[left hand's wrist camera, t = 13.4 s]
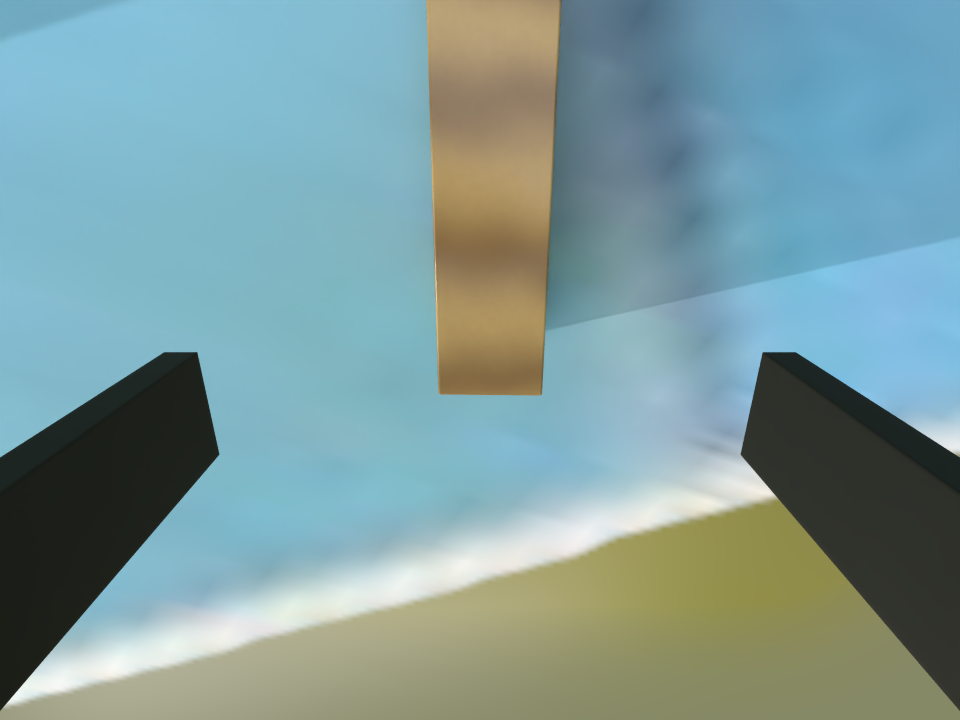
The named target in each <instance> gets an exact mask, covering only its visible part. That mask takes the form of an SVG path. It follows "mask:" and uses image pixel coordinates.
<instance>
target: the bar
mask: <svg viewBox="0 0 960 720" xmlns="http://www.w3.org/2000/svg"><path fill="white" fill-rule="evenodd" d="M561 2H562V0H427V31H428V64H429V97H430V130H431V163H432V196H433V229H434V262H435V295H436V328H437V361H438V393H439V394H453V395H541V394H542V384H543V364H544V344H545V324H546V304H547V284H548V263H549V243H550V223H551V203H552V183H553V163H554V143H555V123H556V103H557V82H558V62H559V42H560V22H561Z"/></svg>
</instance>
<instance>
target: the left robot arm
mask: <svg viewBox="0 0 960 720" xmlns="http://www.w3.org/2000/svg"><path fill="white" fill-rule="evenodd" d="M218 456H219V451H218V446H217V441H216V437H215V432H214V428H213V423H212V418H211V414H210V409H209V404H208V400H207V395H206V391H205V386H204V381H203V377H202V372H201V367H200V363H199V358H198V354H197V352H164V353H162V354H161V355H159V356H158V357H156V358H155V359H153V360H152V361H150V362H148V363H147V364H145V365H144V366H142V367H141V368H139V369H138V370H136V371H134V372H133V373H131V374H130V375H128V376H127V377H125V378H124V379H122V380H120V381H119V382H117V383H116V384H114V385H113V386H111V387H109V388H108V389H106V390H105V391H103V392H102V393H100V394H99V395H97V396H95V397H94V398H92V399H91V400H89V401H88V402H86V403H85V404H83V405H81V406H80V407H78V408H77V409H75V410H74V411H72V412H70V413H69V414H67V415H66V416H64V417H63V418H61V419H60V420H58V421H56V422H55V423H53V424H52V425H50V426H49V427H47V428H46V429H44V430H42V431H41V432H39V433H38V434H36V435H35V436H33V437H32V438H30V439H28V440H27V441H25V442H24V443H22V444H21V445H19V446H17V447H16V448H14V449H13V450H11V451H10V452H8V453H7V454H5V455H3V456H2V457H0V710H1V709H2V708H3V707H4V706H5V705H6V703H7V702H8V701H9V700H10V699H11V698H12V696H13V695H14V694H15V693H16V692H17V691H18V689H19V688H20V687H21V686H22V685H23V683H24V682H25V681H26V680H27V679H28V678H29V676H30V675H31V674H32V673H33V672H34V671H35V669H36V668H37V667H38V666H39V665H40V664H41V662H42V661H43V660H44V659H45V658H46V657H47V655H48V654H49V653H50V652H51V651H52V650H53V648H54V647H55V646H56V645H57V644H58V643H59V641H60V640H61V639H62V638H63V637H64V636H65V634H66V633H67V632H68V631H69V630H70V629H71V627H72V626H73V625H74V624H75V623H76V622H77V620H78V619H79V618H80V617H81V616H82V615H83V613H84V612H85V611H86V610H87V609H88V608H89V606H90V605H91V604H92V603H93V602H94V601H95V599H96V598H97V597H98V596H99V595H100V593H101V592H102V591H103V590H104V589H105V588H106V586H107V585H108V584H109V583H110V582H111V581H112V579H113V578H114V577H115V576H116V575H117V574H118V572H119V571H120V570H121V569H122V568H123V567H124V565H125V564H126V563H127V562H128V561H129V560H130V558H131V557H132V556H133V555H134V554H135V553H136V551H137V550H138V549H139V548H140V547H141V546H142V544H143V543H144V542H145V541H146V540H147V539H148V537H149V536H150V535H151V534H152V533H153V532H154V530H155V529H156V528H157V527H158V526H159V525H160V523H161V522H162V521H163V520H164V519H165V518H166V516H167V515H168V514H169V513H170V512H171V510H172V509H173V508H174V507H175V506H176V505H177V503H178V502H179V501H180V500H181V499H182V498H183V496H184V495H185V494H186V493H187V492H188V491H189V489H190V488H191V487H192V486H193V485H194V484H195V482H196V481H197V480H198V479H199V478H200V477H201V475H202V474H203V473H204V472H205V471H206V470H207V468H208V467H209V466H210V465H211V464H212V463H213V461H214V460H215V459H216V458H217V457H218ZM741 456H742V457H743V458H744V459H745V460H746V461H747V463H748V464H749V465H750V466H751V467H752V468H753V470H754V471H755V472H756V473H757V474H758V475H759V477H760V478H761V479H762V480H763V481H764V482H765V484H766V485H767V486H768V487H769V488H770V489H771V491H772V492H773V493H774V494H775V495H776V496H777V498H778V499H779V500H780V501H781V502H782V503H783V505H784V506H785V507H786V508H787V509H788V511H789V512H790V513H791V514H792V515H793V516H794V517H795V519H796V520H797V521H798V522H799V523H800V525H801V526H802V527H803V528H804V529H805V530H806V532H807V533H808V534H809V535H810V536H811V537H812V539H813V540H814V541H815V542H816V543H817V544H818V546H819V547H820V548H821V549H822V550H823V551H824V553H825V554H826V555H827V556H828V557H829V558H830V560H831V561H832V562H833V563H834V564H835V565H836V567H837V568H838V569H839V570H840V571H841V572H842V574H843V575H844V576H845V577H846V578H847V579H848V581H849V582H850V583H851V584H852V585H853V586H854V588H855V589H856V590H857V591H858V592H859V593H860V595H861V596H862V597H863V598H864V599H865V600H866V602H867V603H868V604H869V605H870V606H871V608H872V609H873V610H874V611H875V612H876V613H877V615H878V616H879V617H880V618H881V619H882V620H883V622H884V623H885V624H886V625H887V626H888V627H889V629H890V630H891V631H892V632H893V633H894V634H895V636H896V637H897V638H898V639H899V640H900V641H901V643H902V644H903V645H904V646H905V647H906V648H907V650H908V651H909V652H910V653H911V654H912V655H913V656H914V658H915V659H916V660H917V661H918V662H919V664H920V665H921V666H922V667H923V668H924V669H925V671H926V672H927V673H928V674H929V675H930V676H931V677H932V679H933V680H934V681H935V682H936V683H937V685H938V686H939V687H940V688H941V689H942V690H943V692H944V693H945V694H946V695H947V696H948V697H949V699H950V700H951V701H952V702H953V703H954V704H955V706H956V707H957V708H958V709H959V710H960V457H958V456H957V455H955V454H953V453H952V452H950V451H949V450H947V449H946V448H944V447H943V446H941V445H939V444H938V443H936V442H935V441H933V440H932V439H930V438H928V437H927V436H925V435H924V434H922V433H921V432H919V431H918V430H916V429H914V428H913V427H911V426H910V425H908V424H907V423H905V422H904V421H902V420H900V419H899V418H897V417H896V416H894V415H893V414H891V413H890V412H888V411H886V410H885V409H883V408H882V407H880V406H879V405H877V404H875V403H874V402H872V401H871V400H869V399H868V398H866V397H865V396H863V395H861V394H860V393H858V392H857V391H855V390H854V389H852V388H851V387H849V386H847V385H846V384H844V383H843V382H841V381H840V380H838V379H836V378H835V377H833V376H832V375H830V374H829V373H827V372H826V371H824V370H822V369H821V368H819V367H818V366H816V365H815V364H813V363H812V362H810V361H808V360H807V359H805V358H804V357H802V356H801V355H799V354H798V353H796V352H763V354H762V358H761V363H760V367H759V372H758V377H757V381H756V386H755V391H754V395H753V400H752V404H751V409H750V414H749V418H748V423H747V428H746V432H745V437H744V441H743V446H742V451H741Z"/></svg>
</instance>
